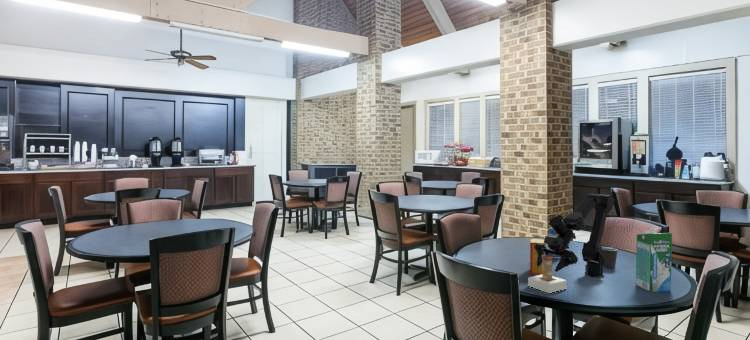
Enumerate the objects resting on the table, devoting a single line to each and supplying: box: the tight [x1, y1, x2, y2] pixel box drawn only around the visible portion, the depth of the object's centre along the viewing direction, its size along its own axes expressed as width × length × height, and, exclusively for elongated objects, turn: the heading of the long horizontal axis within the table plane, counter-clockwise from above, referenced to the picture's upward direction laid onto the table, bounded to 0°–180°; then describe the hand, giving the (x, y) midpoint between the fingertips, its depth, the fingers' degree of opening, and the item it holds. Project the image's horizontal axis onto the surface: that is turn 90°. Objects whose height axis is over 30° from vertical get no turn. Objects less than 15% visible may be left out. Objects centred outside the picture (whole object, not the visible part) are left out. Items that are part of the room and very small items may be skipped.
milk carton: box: [635, 230, 673, 293], centre depth 175 cm, size 9×9×25 cm
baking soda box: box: [529, 238, 546, 275], centre depth 200 cm, size 10×6×16 cm
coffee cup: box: [602, 246, 619, 269], centre depth 207 cm, size 8×8×10 cm
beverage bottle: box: [547, 225, 561, 259], centre depth 228 cm, size 8×8×20 cm
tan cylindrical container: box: [542, 255, 554, 282], centre depth 177 cm, size 5×5×14 cm
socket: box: [527, 274, 567, 294], centre depth 177 cm, size 11×11×4 cm
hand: (546, 268), depth 177 cm, fingers open, 9 cm apart
